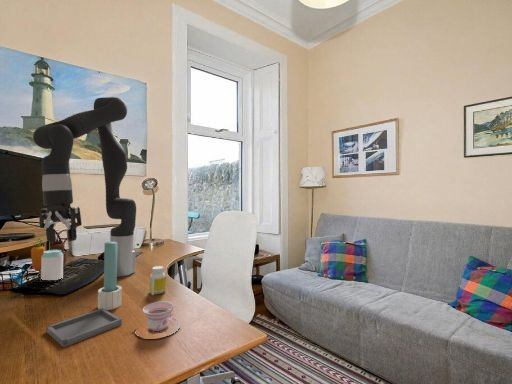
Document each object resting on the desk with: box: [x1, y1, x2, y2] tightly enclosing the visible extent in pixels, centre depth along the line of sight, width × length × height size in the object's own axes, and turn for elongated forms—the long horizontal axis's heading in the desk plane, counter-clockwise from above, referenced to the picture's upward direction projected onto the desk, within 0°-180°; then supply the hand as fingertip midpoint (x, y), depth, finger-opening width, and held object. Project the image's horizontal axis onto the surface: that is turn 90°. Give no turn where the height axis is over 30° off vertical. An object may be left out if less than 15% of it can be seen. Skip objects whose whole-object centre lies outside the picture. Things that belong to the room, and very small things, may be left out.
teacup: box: [133, 300, 181, 337], centre depth 76 cm, size 12×12×6 cm
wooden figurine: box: [50, 236, 68, 268], centre depth 128 cm, size 7×6×15 cm
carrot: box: [30, 237, 47, 272], centre depth 120 cm, size 5×5×15 cm
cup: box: [97, 285, 123, 311], centre depth 88 cm, size 7×7×6 cm
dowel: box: [103, 241, 118, 292], centre depth 88 cm, size 4×4×20 cm
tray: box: [45, 308, 123, 348], centre depth 74 cm, size 14×11×2 cm
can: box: [40, 249, 64, 280], centre depth 111 cm, size 7×7×12 cm
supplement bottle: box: [149, 265, 167, 296], centre depth 100 cm, size 5×5×10 cm
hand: (61, 240), depth 87 cm, fingers open, 8 cm apart
